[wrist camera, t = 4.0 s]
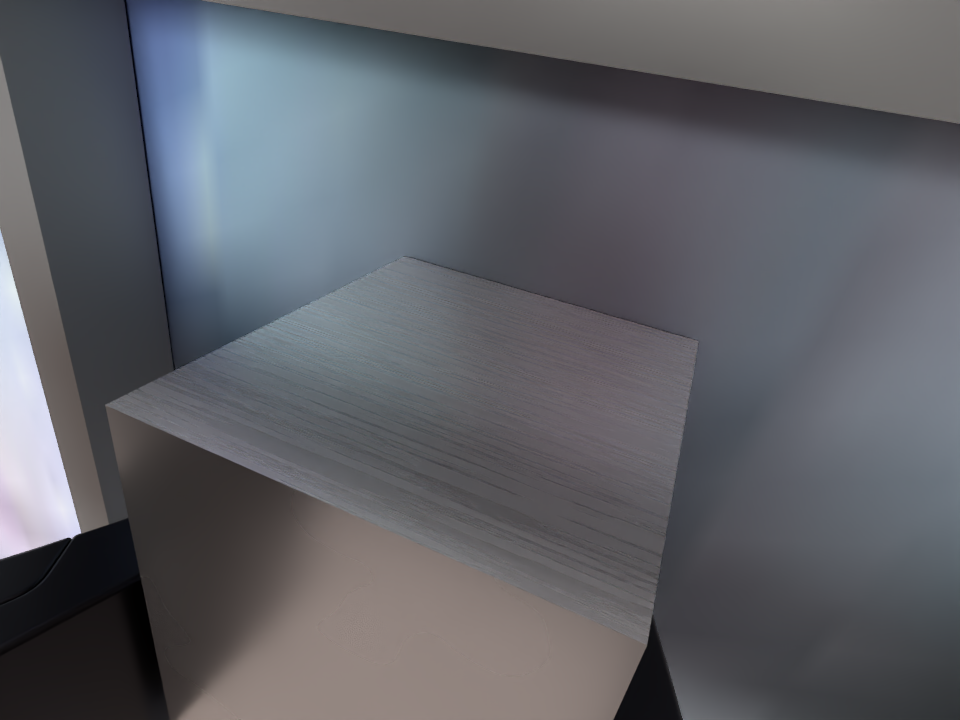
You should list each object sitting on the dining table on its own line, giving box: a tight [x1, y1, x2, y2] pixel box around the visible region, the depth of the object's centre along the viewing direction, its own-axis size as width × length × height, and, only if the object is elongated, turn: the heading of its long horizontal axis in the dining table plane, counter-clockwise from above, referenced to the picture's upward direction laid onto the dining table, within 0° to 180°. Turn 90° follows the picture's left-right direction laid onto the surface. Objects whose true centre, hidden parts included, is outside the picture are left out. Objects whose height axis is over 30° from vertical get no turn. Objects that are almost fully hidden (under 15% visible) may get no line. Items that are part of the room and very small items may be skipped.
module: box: [105, 256, 699, 720], centre depth 8 cm, size 4×7×5 cm, turn 171°
